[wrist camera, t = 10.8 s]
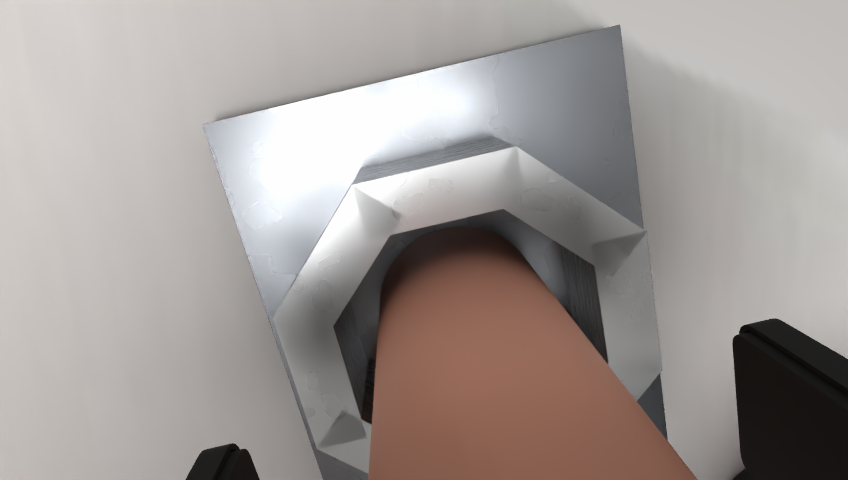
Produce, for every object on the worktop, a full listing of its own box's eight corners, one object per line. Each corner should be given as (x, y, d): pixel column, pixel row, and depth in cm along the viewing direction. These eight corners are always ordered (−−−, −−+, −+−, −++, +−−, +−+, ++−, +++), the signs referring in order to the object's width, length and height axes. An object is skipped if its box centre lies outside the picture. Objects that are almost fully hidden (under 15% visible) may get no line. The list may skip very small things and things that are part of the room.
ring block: (654, 425, 19) (718, 507, 15) (339, 496, 19) (324, 595, 16) (605, 29, 15) (675, 7, 12) (214, 122, 16) (153, 132, 12)
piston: (548, 353, 17) (921, 990, 5) (400, 388, 17) (416, 1099, 5) (523, 209, 16) (955, 612, 4) (361, 247, 16) (256, 768, 4)
